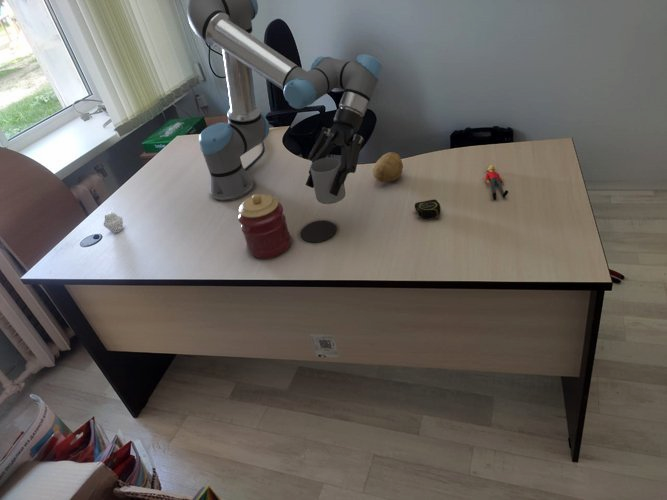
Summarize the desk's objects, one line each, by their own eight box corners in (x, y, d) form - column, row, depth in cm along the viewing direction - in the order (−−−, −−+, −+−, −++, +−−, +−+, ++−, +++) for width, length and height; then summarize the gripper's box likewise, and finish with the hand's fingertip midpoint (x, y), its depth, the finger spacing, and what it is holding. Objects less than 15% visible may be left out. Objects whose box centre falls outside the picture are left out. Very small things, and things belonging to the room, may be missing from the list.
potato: (408, 169, 165) (406, 147, 160) (397, 190, 155) (396, 168, 150) (381, 167, 169) (379, 147, 164) (369, 188, 158) (366, 167, 154)
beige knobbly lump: (108, 229, 164) (99, 212, 160) (126, 222, 166) (117, 206, 161) (108, 237, 159) (99, 220, 155) (127, 231, 161) (118, 214, 157)
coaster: (297, 227, 146) (296, 226, 146) (331, 217, 148) (331, 216, 148) (305, 247, 138) (304, 245, 138) (341, 236, 139) (340, 235, 139)
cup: (349, 189, 137) (344, 157, 131) (340, 204, 131) (335, 172, 125) (321, 188, 140) (316, 157, 134) (312, 203, 134) (305, 171, 128)
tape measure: (437, 207, 143) (436, 196, 141) (443, 219, 138) (443, 208, 136) (414, 211, 144) (414, 200, 141) (420, 223, 138) (419, 212, 136)
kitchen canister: (274, 264, 134) (258, 211, 123) (239, 254, 140) (222, 203, 129) (300, 237, 142) (287, 186, 131) (266, 229, 148) (252, 180, 138)
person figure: (493, 187, 139) (485, 158, 153) (488, 198, 142) (481, 169, 156) (510, 191, 139) (501, 161, 153) (505, 202, 142) (496, 172, 156)
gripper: (388, 124, 127) (357, 203, 128) (330, 112, 140) (302, 185, 141) (374, 112, 121) (342, 196, 122) (314, 101, 134) (286, 177, 135)
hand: (321, 190), depth 131 cm, fingers closed on cup, 8 cm apart
